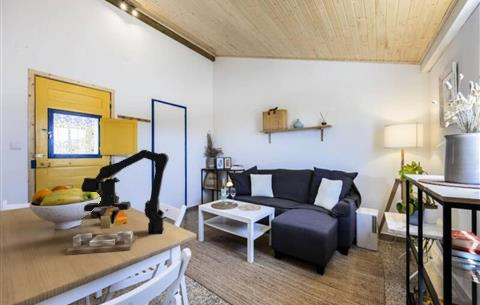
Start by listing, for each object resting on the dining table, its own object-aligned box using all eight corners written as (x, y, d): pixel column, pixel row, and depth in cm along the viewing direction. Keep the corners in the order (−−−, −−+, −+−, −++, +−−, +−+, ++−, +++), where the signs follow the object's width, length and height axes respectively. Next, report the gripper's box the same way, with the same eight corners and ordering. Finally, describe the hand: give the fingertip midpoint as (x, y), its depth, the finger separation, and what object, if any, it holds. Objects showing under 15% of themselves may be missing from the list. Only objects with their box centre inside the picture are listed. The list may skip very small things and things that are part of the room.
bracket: (105, 227, 114) (106, 204, 114) (103, 224, 120) (103, 202, 120) (128, 223, 122) (128, 201, 121) (124, 219, 127) (124, 199, 127)
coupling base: (137, 238, 102) (137, 226, 101) (130, 250, 90) (130, 236, 90) (82, 241, 97) (82, 229, 97) (66, 254, 85) (66, 240, 85)
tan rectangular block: (106, 224, 108) (106, 212, 108) (114, 223, 109) (114, 211, 109) (100, 228, 102) (100, 215, 102) (110, 228, 103) (110, 215, 103)
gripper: (133, 188, 115) (133, 217, 115) (94, 189, 111) (94, 219, 111) (127, 192, 104) (127, 225, 104) (83, 193, 100) (83, 227, 101)
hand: (108, 224), depth 105 cm, fingers closed on tan rectangular block, 4 cm apart
